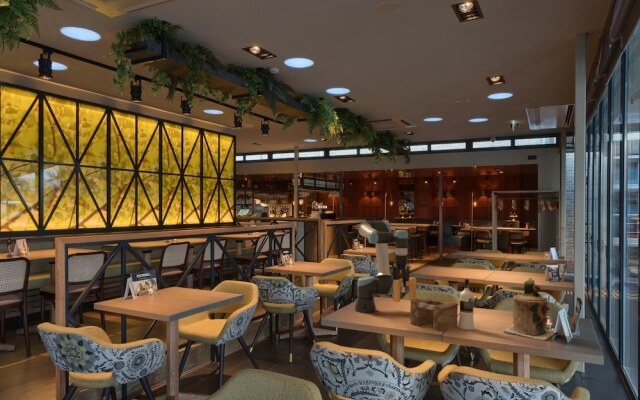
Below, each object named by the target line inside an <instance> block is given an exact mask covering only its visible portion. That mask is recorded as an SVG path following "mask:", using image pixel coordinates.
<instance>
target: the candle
mask: <svg viewBox="0 0 640 400" xmlns="http://www.w3.org/2000/svg"><path fill="white" fill-rule="evenodd" d="M421 299H422V298H418V297H416V298H410V303H411V302H412V301H416V300H421ZM409 311H410V316H411V308H410V310H409Z"/></svg>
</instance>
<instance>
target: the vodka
mask: <svg viewBox="0 0 640 400" xmlns="http://www.w3.org/2000/svg"><path fill="white" fill-rule="evenodd" d="M474 298H475V294H474V293H473V292H472V291H471V290H470V279H469V278H465V279H464V289H463V290H462V291H460V293H459V311H458V312H459V318H458V323H457V327H458V328H459V329H460V330H463V331H473V330H474V329H475V323H474V322H475V321H474V301H475V300H474Z"/></svg>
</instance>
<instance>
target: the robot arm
mask: <svg viewBox="0 0 640 400" xmlns="http://www.w3.org/2000/svg"><path fill="white" fill-rule="evenodd" d="M357 231H358V234H359V235H360V236H362V237H364V238H367V240H368V243H369V244H374V245H375V253H376V267H377V269H376V270H377V274H376V276H372V275H367V276H362V277H359V278H358V279H357V285H356V286H357V298H356V302H355V306H354V311H356V312H359V313H370V314H371V313H375V312H377V306H376V303H375V296H393V288H394V280H399V279H400V275H401V279H403V281H402V287H401V293H405V292H406V287H407V286H406V282H407V281H409V278H410V273H411V272H410V270H411V265H409V264H408V246H409V244H408V243H409V241H408V238H409V233H408V230H405V229H397V230H396V231H392V227H391V224H390V222H389V221H387V220H365V221H363V222H361V223H360V224H359V225H358V227H357ZM388 244H390V245H391V244H394V245H395V246H394V247H395V254H394V257H395V258H394V261H395V262H394V263H391V268H392V273H391V272H390V261H389V259H390V258H389V246H388Z"/></svg>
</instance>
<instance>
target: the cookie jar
mask: <svg viewBox="0 0 640 400" xmlns="http://www.w3.org/2000/svg"><path fill="white" fill-rule="evenodd" d="M523 286H524V288H523V290H524V292H523V293H522V294H515V295H513V297H512V299H513V302H514V303H513V308H512V309H513V310H512V318H511V319H512V324H511V325H510V326H508V327H506V328H504V329H503V330H502V331H503V333H507V334H510V335H512V334H513V335H517V336H519V337H525V338H529V339H534V340H539V341H546V340H548V339H549V338H551V337H553V336H554V335H553V331H554V329H555V328H551V329H552V330H546V329H545V328H547V325H548V317H547V314H548V311H549V310H551V309H550V307H549V306H548V305H549V302H548V299H547V297H544V296H543V295H542V294H540V293H539V292H540V291H541V286H540V285H539V284H535V280H534V279H532V277H529V278H528V280H526V281H524V282H523Z"/></svg>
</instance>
